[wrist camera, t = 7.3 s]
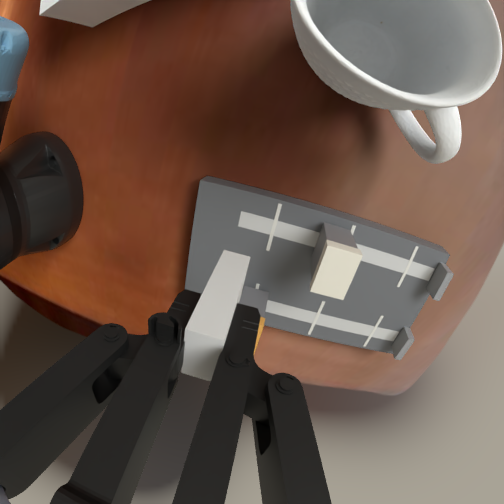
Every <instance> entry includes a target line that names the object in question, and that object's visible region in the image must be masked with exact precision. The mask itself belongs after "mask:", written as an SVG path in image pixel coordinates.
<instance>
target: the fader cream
mask: <svg viewBox="0 0 504 504" xmlns="http://www.w3.org/2000/svg"><path fill="white" fill-rule="evenodd" d="M362 256H363V255H362V252H361V250H360V249H358V248H357V245H356V243H355V240H354V238H353V235H352V233H351V231H350V230H349V229H345V228H342V227H339V226H335V225H332V224H329V223H325V222H323V225H322V228H321V231H320V234H319V237H318V240H317V243H316V246H315V249H314V251H313V254H312V257H311V283H310V292H313V293H317V294H321V295H325V296H329V297H333V298H337V299H340V300H343V299H344V297H345V295H346V293H347V291H348V288H349V286H350V284H351V282H352V280H353V277H354V275H355V273H356V271H357V268H358V266H359V264H360V261H361V259H362Z"/></svg>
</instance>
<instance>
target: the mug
mask: <svg viewBox="0 0 504 504" xmlns="http://www.w3.org/2000/svg"><path fill="white" fill-rule="evenodd" d="M290 6H291V12H292V14H291V16H292V21H293V27H294V31H295V34H296V38H297V41H298V44H299V47H300V49H301V51H302V53H303V56H304V57H305V59H306V60H307V62H308V64H309V65H310V67H311V68H312V69H313V70H314V72H315V74H316V75H318V76H319V78H320V79H321V80H322V81H324V82H325V84H326V85H328V86H330V87H331V88H332V89H333V90H335V91H336V92H337V93H339V94H342V95H343V96H344V97H346V98H349V99H350V100H352V101H356V102H357V103H359V104H364V105H368V106H370V107H377V108H381V109H389V111H390V113H391V115H392V116H393V118H394V120H395V122H396V124H397V125H398V127H399V128H400V130H401V132H402V133H403V135H404V136H405V138H406V139H407V141H408V142H409V144H410V145H411V147H412V148H413V149H414V150H415V152H416V153H417V154H418V155H419V156H420V157H421V158H423V159H424V160H426V161H427V162H429V163H435V164H438V163H443V162H445V161H448V160H450V159H451V158H453V157H454V156H455V155H456V154H457V152H458V150H459V148H460V144H461V121H460V116H459V112H458V108H457V106H460V105H464V104H467V103H469V102H472V101H474V100H476V99H477V98H479V97H480V96H482V95H483V94H484V93H485V92H486V91H487V90H488V89H489V88H490V87H491V85H492V84H493V82H494V81H495V79H496V77H497V74H498V72H499V68H500V64H501V59H502V41H501V34H500V30H499V26H498V22H497V19H496V16H495V13H494V11H493V9H492V7H491V5H490V3H489V1H488V0H291V3H290ZM414 110H424V112H425V114H426V116H427V119H428V121H429V123H430V126H431V128H432V131H433V134H434V136H435V141H436V144H435V143H434V142H433V141H432V140H431V139H430V138H429V137H428V135H427V134H426V133H425V132H424V130H423V129H422V127H421V126H420V125H419V123H418V122H417V120H416V119H415V117H414V115H413V114H412V112H411V111H414Z"/></svg>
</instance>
